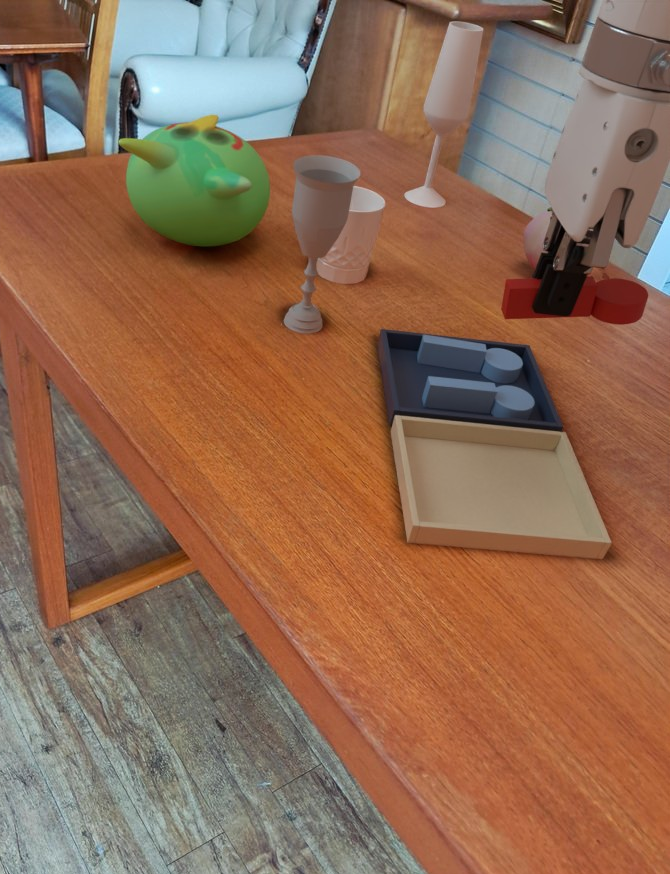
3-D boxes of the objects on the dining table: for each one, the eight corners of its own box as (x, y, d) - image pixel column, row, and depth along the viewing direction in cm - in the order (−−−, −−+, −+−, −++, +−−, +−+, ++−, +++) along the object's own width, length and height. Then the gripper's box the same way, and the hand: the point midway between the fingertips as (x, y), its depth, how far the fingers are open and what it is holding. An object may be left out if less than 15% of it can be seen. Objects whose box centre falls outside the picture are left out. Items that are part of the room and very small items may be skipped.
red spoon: (632, 296, 67) (641, 265, 65) (650, 324, 64) (660, 292, 62) (497, 301, 67) (502, 270, 65) (508, 328, 64) (513, 297, 62)
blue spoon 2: (524, 401, 85) (532, 379, 83) (533, 426, 81) (542, 404, 79) (420, 390, 84) (426, 368, 82) (425, 415, 80) (432, 392, 78)
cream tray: (557, 451, 80) (565, 432, 78) (600, 562, 68) (612, 542, 67) (389, 434, 78) (394, 414, 76) (406, 546, 67) (412, 525, 65)
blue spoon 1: (515, 364, 90) (523, 343, 88) (520, 386, 87) (528, 365, 85) (416, 349, 90) (422, 327, 88) (417, 370, 86) (423, 348, 84)
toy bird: (274, 227, 110) (287, 115, 100) (247, 282, 97) (259, 160, 87) (148, 202, 110) (149, 88, 100) (106, 253, 98) (102, 129, 88)
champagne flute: (396, 197, 123) (433, 22, 107) (416, 186, 128) (455, 17, 112) (434, 211, 121) (478, 35, 105) (453, 200, 125) (498, 29, 109)
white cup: (360, 295, 98) (376, 217, 92) (301, 278, 100) (312, 200, 93) (376, 269, 104) (392, 194, 97) (319, 254, 105) (331, 179, 98)
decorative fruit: (588, 294, 107) (618, 222, 100) (536, 296, 104) (563, 223, 98) (553, 261, 113) (579, 192, 106) (503, 262, 111) (526, 191, 104)
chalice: (320, 349, 88) (348, 189, 76) (263, 332, 89) (282, 171, 77) (340, 320, 93) (369, 166, 81) (286, 304, 94) (307, 149, 82)
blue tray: (522, 363, 91) (529, 345, 90) (555, 446, 80) (563, 426, 78) (376, 347, 90) (380, 328, 88) (388, 430, 79) (394, 409, 77)
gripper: (745, 104, 47) (620, 364, 60) (655, 39, 59) (566, 268, 71) (625, 87, 47) (524, 353, 59) (558, 24, 58) (485, 258, 70)
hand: (547, 305), depth 65 cm, fingers closed on red spoon, 1 cm apart
